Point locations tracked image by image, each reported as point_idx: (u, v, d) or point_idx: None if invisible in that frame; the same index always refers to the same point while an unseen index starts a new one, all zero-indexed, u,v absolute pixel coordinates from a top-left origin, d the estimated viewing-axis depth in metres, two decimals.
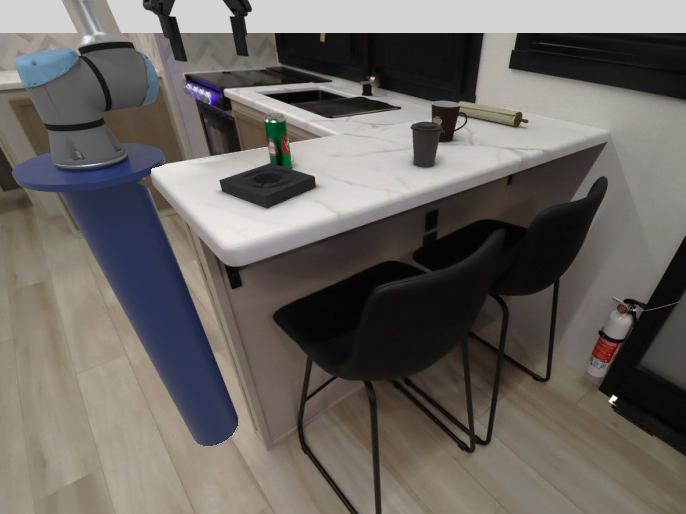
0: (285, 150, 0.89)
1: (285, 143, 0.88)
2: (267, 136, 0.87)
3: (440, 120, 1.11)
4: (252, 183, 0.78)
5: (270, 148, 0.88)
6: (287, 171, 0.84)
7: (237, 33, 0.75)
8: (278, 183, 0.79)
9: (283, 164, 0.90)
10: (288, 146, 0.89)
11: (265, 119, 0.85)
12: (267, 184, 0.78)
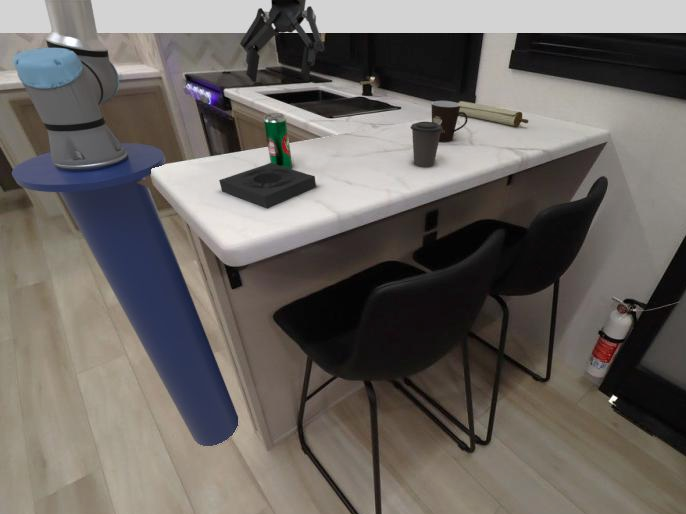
0: (285, 150, 0.89)
1: (285, 143, 0.88)
2: (267, 136, 0.87)
3: (440, 120, 1.11)
4: (252, 183, 0.78)
5: (270, 148, 0.88)
6: (287, 171, 0.84)
7: (255, 63, 0.89)
8: (278, 183, 0.79)
9: (283, 164, 0.90)
10: (288, 146, 0.89)
11: (265, 119, 0.85)
12: (267, 184, 0.78)
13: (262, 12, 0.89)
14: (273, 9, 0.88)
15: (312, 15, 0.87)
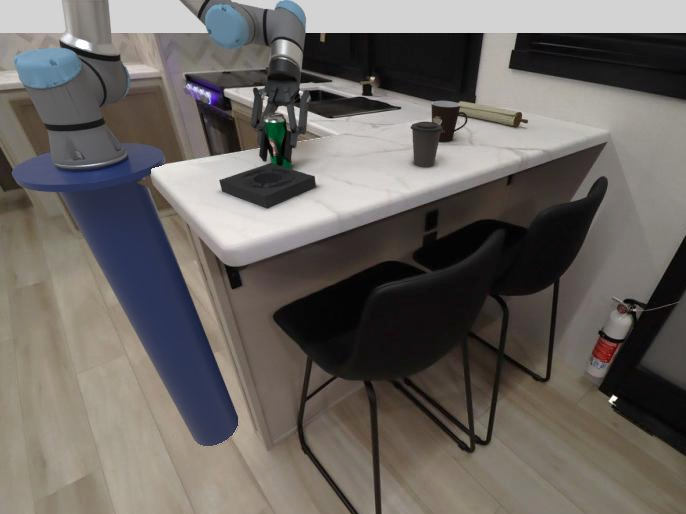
0: None
1: (285, 143, 0.88)
2: (267, 136, 0.87)
3: (440, 120, 1.11)
4: (252, 183, 0.78)
5: (270, 148, 0.88)
6: (287, 171, 0.84)
7: (266, 143, 0.89)
8: (278, 183, 0.79)
9: (283, 164, 0.90)
10: None
11: (265, 119, 0.85)
12: (267, 184, 0.78)
13: (258, 90, 0.89)
14: (269, 84, 0.89)
15: (306, 99, 0.89)
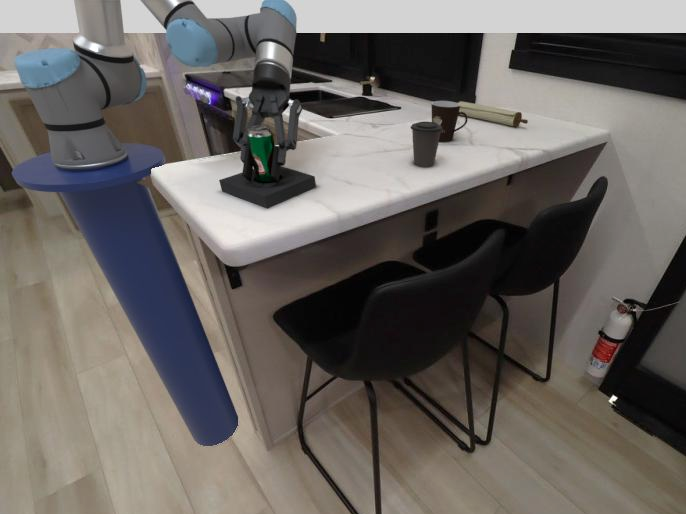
0: None
1: None
2: (251, 152, 0.76)
3: (440, 120, 1.11)
4: (252, 183, 0.78)
5: (255, 166, 0.77)
6: (287, 171, 0.84)
7: (251, 160, 0.78)
8: (278, 183, 0.79)
9: None
10: None
11: (249, 133, 0.74)
12: (267, 184, 0.78)
13: (241, 99, 0.78)
14: (254, 92, 0.78)
15: (296, 109, 0.78)
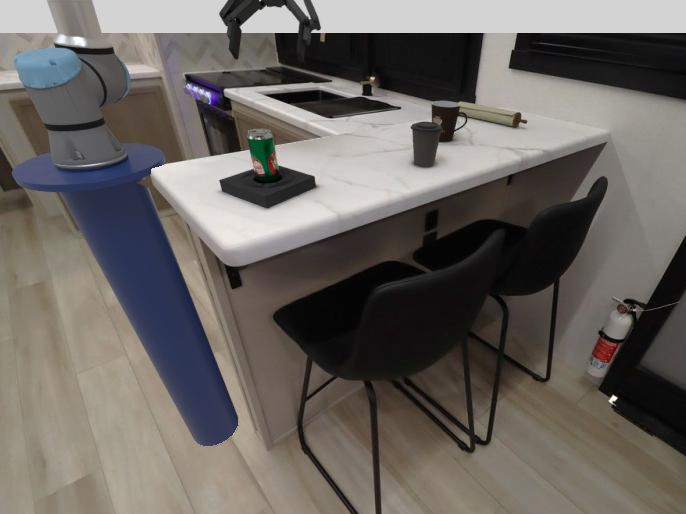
0: (273, 170, 0.78)
1: (272, 162, 0.77)
2: (252, 155, 0.76)
3: (440, 120, 1.11)
4: (252, 183, 0.78)
5: (255, 168, 0.78)
6: (287, 171, 0.84)
7: (237, 37, 0.77)
8: (278, 183, 0.79)
9: None
10: (276, 165, 0.79)
11: (249, 136, 0.74)
12: (267, 184, 0.78)
13: None
14: None
15: None
